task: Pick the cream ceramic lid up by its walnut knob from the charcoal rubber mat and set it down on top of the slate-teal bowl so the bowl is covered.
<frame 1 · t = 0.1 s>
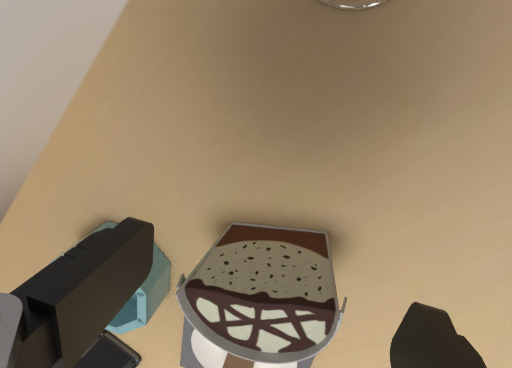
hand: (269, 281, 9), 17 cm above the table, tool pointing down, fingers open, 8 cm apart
mat: (245, 344, 37), on the table
food container: (278, 251, 30), on the table
bowl: (127, 263, 36), on the table
lid: (244, 348, 36), point 1 cm above the table, touching mat
phone: (105, 357, 47), on the table
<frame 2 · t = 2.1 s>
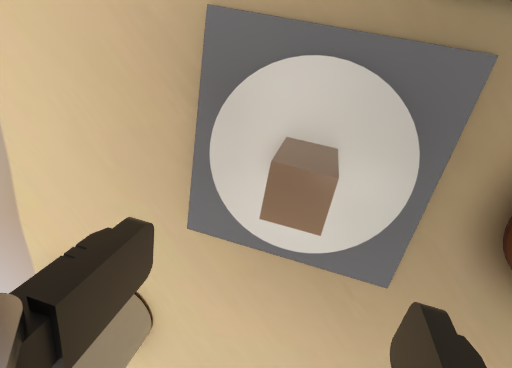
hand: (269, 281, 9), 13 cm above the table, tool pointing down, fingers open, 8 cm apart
mat: (307, 159, 20), on the table
travel mug: (120, 308, 32), on the table
lid: (307, 161, 20), point 1 cm above the table, touching mat
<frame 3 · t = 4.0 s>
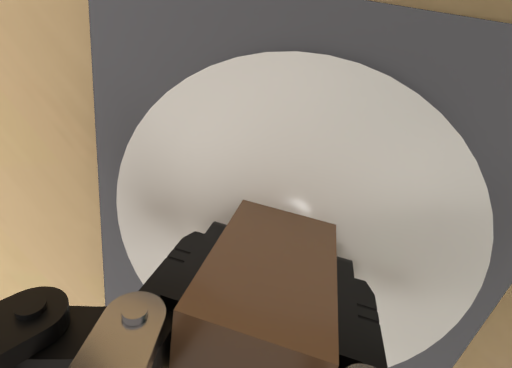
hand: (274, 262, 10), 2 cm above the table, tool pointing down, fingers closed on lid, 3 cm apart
mat: (283, 226, 12), on the table
lid: (282, 235, 12), point 1 cm above the table, touching gripper, mat
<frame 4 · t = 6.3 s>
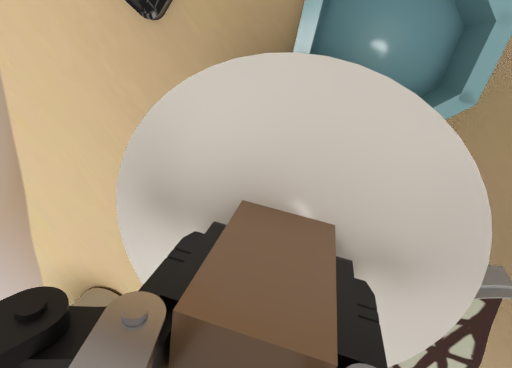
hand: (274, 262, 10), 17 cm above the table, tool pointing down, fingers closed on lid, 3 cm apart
food container: (398, 260, 28), on the table
bowl: (381, 44, 21), on the table
travel mug: (111, 308, 40), on the table
lid: (282, 235, 12), point 15 cm above the table, touching gripper
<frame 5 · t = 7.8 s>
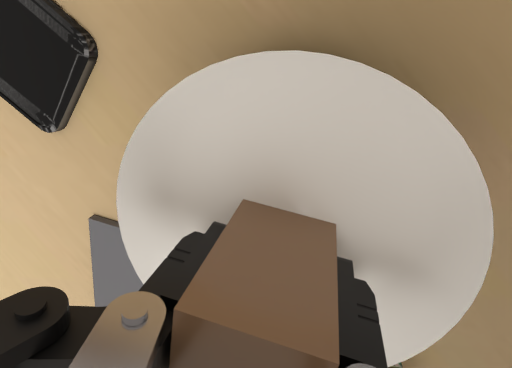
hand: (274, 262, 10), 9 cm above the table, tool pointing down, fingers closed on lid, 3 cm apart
mat: (179, 316, 26), on the table
lid: (283, 234, 12), point 8 cm above the table, touching gripper
when the fingers open (8 cm above the table, at t = 8.8 s): lid drops 1 cm, resting on bowl.
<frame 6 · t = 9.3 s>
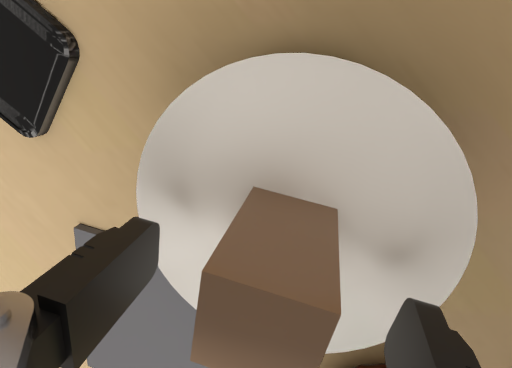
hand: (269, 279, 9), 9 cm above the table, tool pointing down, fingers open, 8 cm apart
mat: (171, 330, 25), on the table
lid: (288, 220, 13), point 5 cm above the table, touching bowl
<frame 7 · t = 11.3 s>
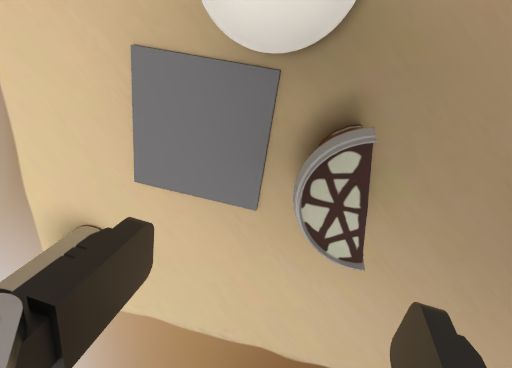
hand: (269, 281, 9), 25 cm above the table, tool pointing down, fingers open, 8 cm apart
mat: (199, 132, 34), on the table
food container: (328, 167, 33), on the table
travel mug: (97, 246, 45), on the table
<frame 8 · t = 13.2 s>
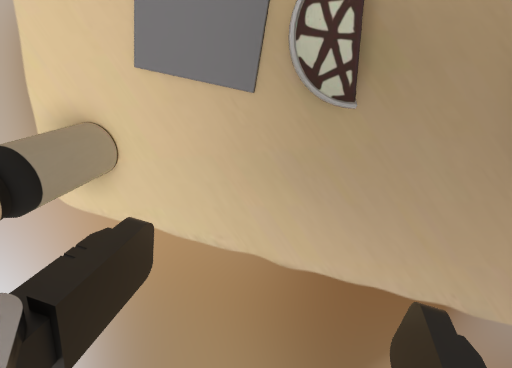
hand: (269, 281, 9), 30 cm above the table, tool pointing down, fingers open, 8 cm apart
mat: (199, 7, 35), on the table
food container: (326, 40, 33), on the table
travel mug: (96, 147, 46), on the table
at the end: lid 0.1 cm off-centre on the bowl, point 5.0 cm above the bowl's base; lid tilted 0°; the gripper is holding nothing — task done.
